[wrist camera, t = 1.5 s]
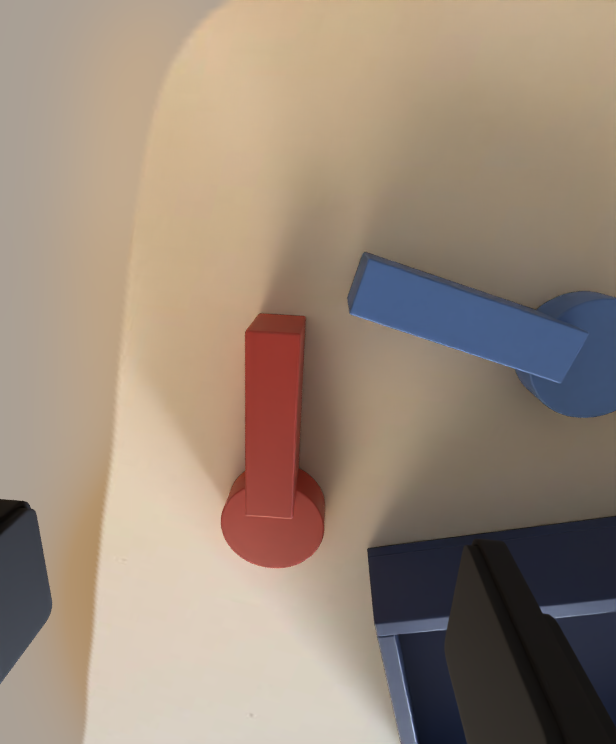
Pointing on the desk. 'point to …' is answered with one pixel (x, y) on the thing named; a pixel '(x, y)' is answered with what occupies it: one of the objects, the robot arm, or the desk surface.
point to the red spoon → (274, 453)
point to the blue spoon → (502, 331)
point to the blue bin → (434, 600)
